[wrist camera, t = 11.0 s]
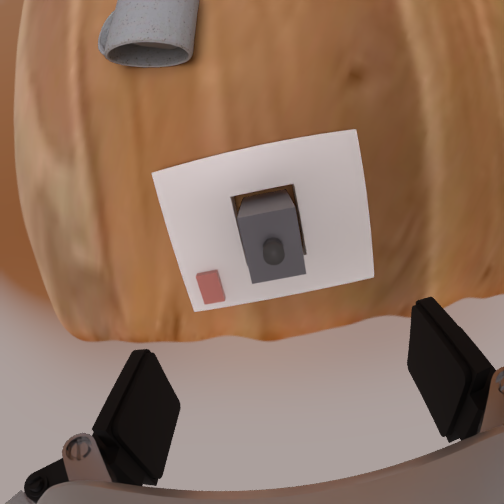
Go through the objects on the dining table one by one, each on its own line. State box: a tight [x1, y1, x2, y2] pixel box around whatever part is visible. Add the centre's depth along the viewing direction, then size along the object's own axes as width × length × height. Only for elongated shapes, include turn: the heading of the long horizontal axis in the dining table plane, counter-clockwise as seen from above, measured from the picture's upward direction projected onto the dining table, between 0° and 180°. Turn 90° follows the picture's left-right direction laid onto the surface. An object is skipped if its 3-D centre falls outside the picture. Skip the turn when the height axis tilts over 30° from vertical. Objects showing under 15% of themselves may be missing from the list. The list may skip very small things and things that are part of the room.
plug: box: [237, 189, 306, 284], centre depth 24 cm, size 4×5×10 cm
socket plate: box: [152, 129, 374, 312], centre depth 27 cm, size 18×14×3 cm
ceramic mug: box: [98, 0, 199, 67], centre depth 19 cm, size 11×8×8 cm
